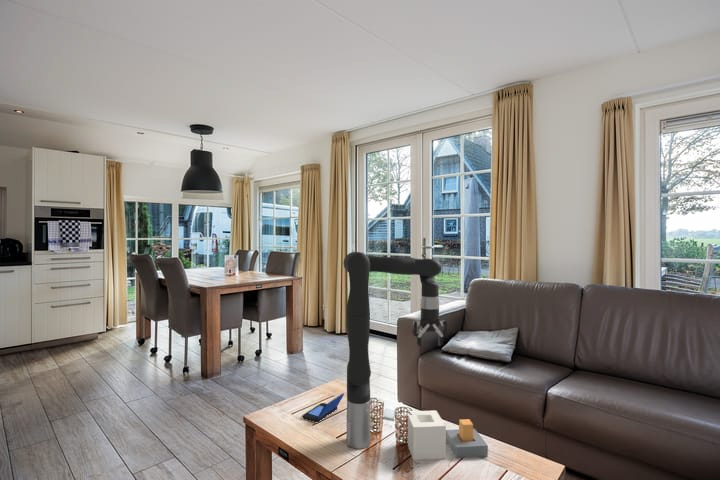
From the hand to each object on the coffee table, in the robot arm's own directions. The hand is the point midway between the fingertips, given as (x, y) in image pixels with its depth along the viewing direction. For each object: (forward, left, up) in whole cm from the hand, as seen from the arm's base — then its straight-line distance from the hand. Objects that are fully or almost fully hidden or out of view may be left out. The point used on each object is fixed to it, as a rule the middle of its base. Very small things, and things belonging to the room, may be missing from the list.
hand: (429, 345), depth 151 cm
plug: (+11, -12, -35) cm, 39 cm away
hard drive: (-16, +17, -37) cm, 44 cm away
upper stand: (-5, -12, -36) cm, 38 cm away
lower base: (+11, -12, -36) cm, 40 cm away
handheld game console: (-44, +19, -37) cm, 60 cm away
